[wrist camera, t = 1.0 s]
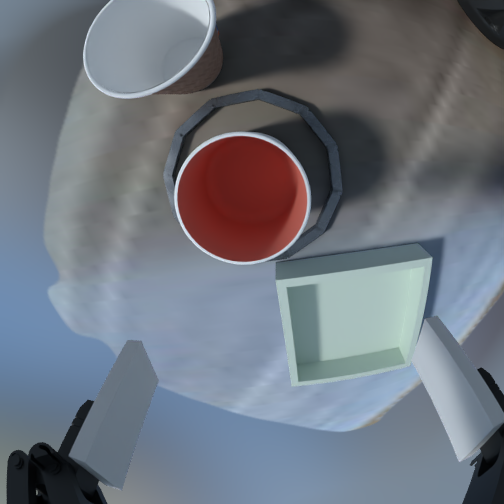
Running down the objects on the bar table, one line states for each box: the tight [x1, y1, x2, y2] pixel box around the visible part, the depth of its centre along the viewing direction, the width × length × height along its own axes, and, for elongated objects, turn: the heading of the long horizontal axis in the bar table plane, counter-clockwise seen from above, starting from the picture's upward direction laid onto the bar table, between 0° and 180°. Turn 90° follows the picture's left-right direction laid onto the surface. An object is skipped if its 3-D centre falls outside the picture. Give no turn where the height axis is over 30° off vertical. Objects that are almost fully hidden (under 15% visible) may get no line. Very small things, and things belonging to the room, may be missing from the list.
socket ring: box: [163, 89, 343, 261], centre depth 28 cm, size 18×18×1 cm
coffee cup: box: [83, 0, 223, 99], centre depth 18 cm, size 10×10×12 cm
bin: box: [276, 243, 433, 387], centre depth 33 cm, size 18×18×4 cm
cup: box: [174, 132, 311, 264], centre depth 24 cm, size 10×10×10 cm
